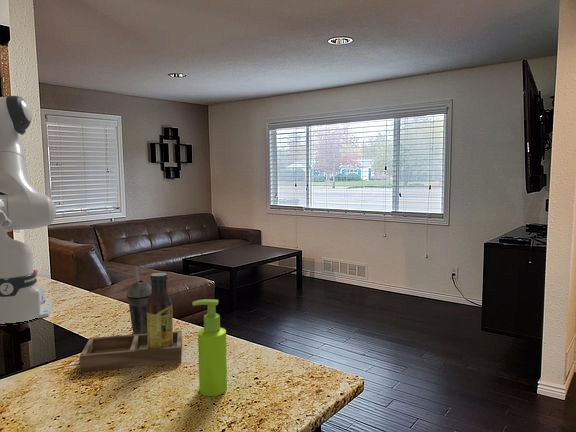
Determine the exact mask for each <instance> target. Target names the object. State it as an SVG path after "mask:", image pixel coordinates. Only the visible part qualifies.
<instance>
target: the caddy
mask: <svg viewBox="0 0 576 432" xmlns="http://www.w3.org/2000/svg"><path fill="white" fill-rule="evenodd" d="M182 331H183V330H175V331H173V344H172V347H161V348H149V349H148V345H147V334H134V335H133V334H125V335H111V336H97V337H89V339H88V340H87V343H86V344H85V346H84V347H83V350H82V352H81V353H80V354H79V368H80V373H87V372H98V371H109V370H112V371H113V370H121V369H131V368H133V369H134V368H143V367H153V366H163V365H174V364H175V365H176V364H181V363H182V355H183V332H182Z"/></svg>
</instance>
